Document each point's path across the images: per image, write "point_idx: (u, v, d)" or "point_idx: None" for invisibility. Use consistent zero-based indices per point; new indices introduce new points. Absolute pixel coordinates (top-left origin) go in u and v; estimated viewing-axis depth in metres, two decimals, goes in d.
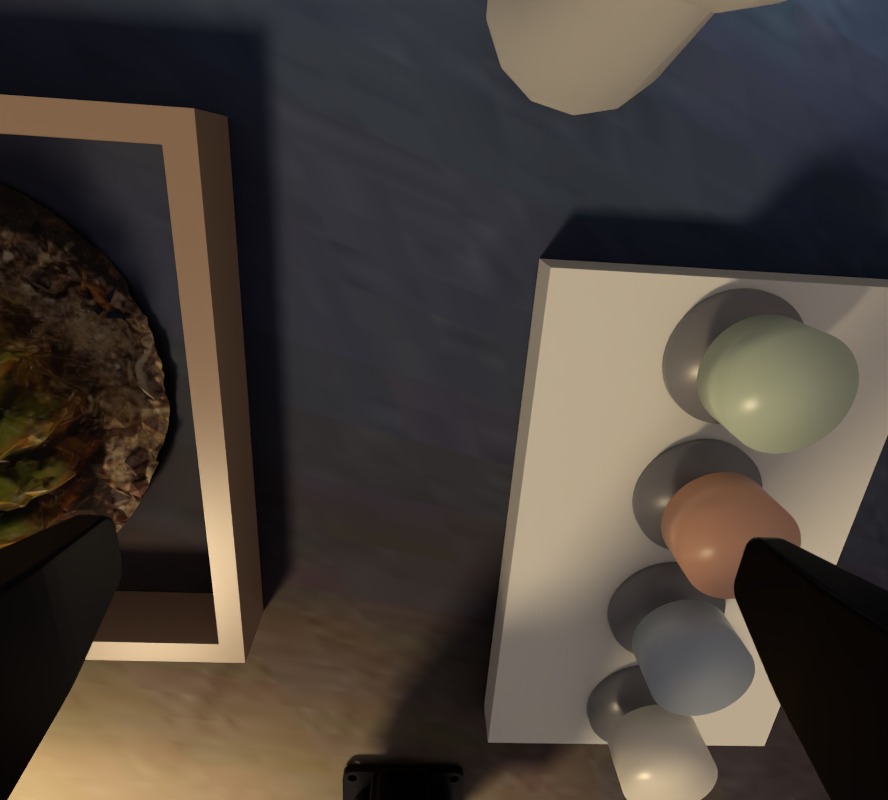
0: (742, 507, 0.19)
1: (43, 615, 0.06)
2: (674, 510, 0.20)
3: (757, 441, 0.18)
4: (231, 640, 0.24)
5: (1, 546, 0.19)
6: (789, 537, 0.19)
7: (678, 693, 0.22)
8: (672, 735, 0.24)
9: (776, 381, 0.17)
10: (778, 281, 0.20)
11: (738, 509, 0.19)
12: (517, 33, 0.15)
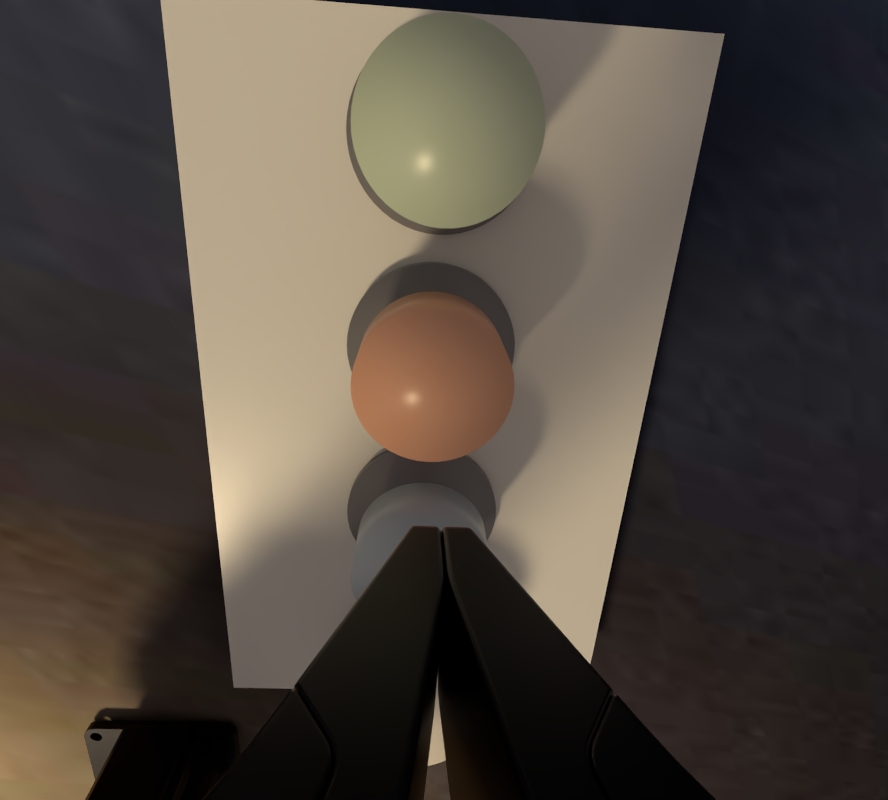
0: (416, 317, 0.13)
1: None
2: None
3: (414, 208, 0.12)
4: None
5: None
6: (496, 366, 0.14)
7: None
8: None
9: (420, 103, 0.12)
10: (489, 16, 0.14)
11: (412, 320, 0.13)
12: None
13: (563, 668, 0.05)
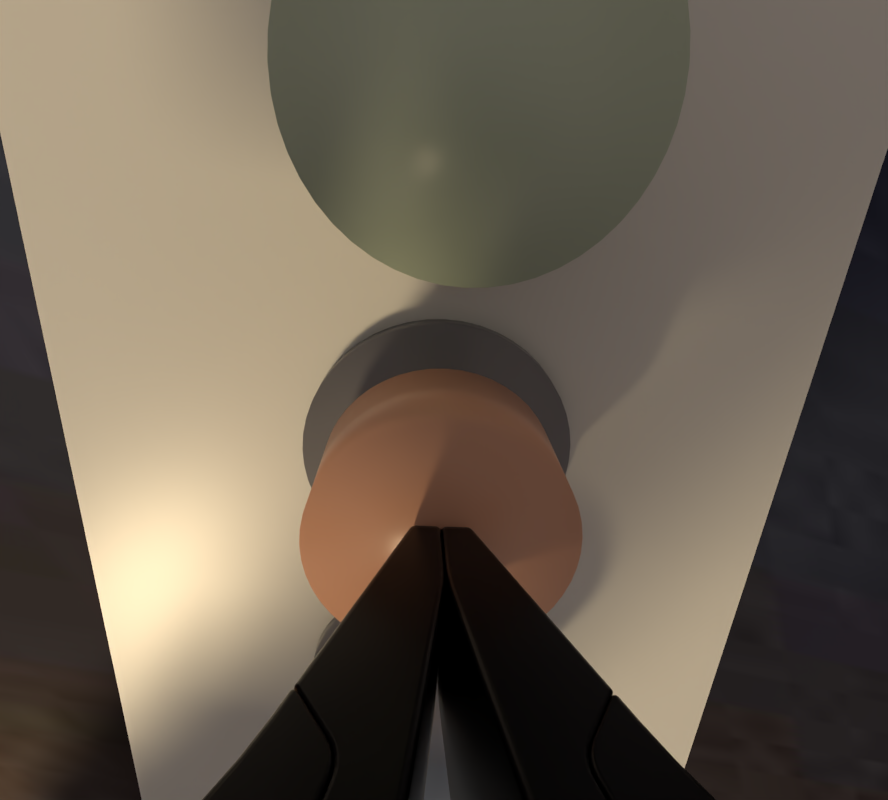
0: (413, 434, 0.07)
1: (441, 624, 0.07)
2: (323, 454, 0.09)
3: (406, 248, 0.06)
4: None
5: None
6: (551, 511, 0.08)
7: None
8: None
9: (419, 24, 0.05)
10: None
11: (405, 440, 0.07)
12: None
13: (563, 668, 0.05)
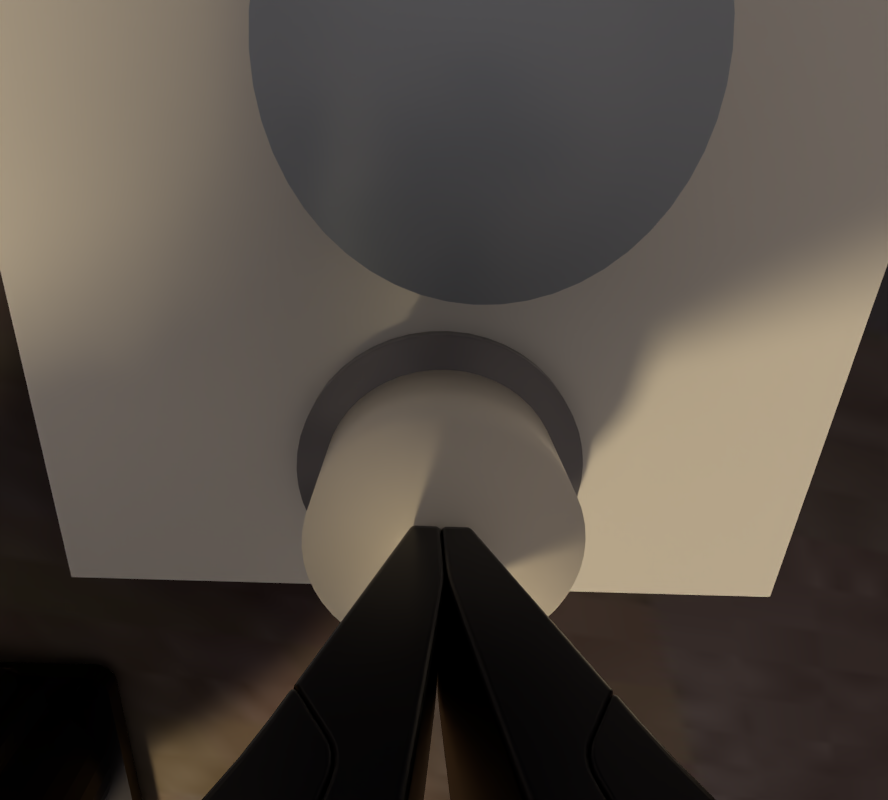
0: None
1: (441, 624, 0.07)
2: None
3: None
4: None
5: None
6: None
7: (398, 166, 0.05)
8: (446, 406, 0.08)
9: None
10: None
11: None
12: None
13: (563, 668, 0.05)
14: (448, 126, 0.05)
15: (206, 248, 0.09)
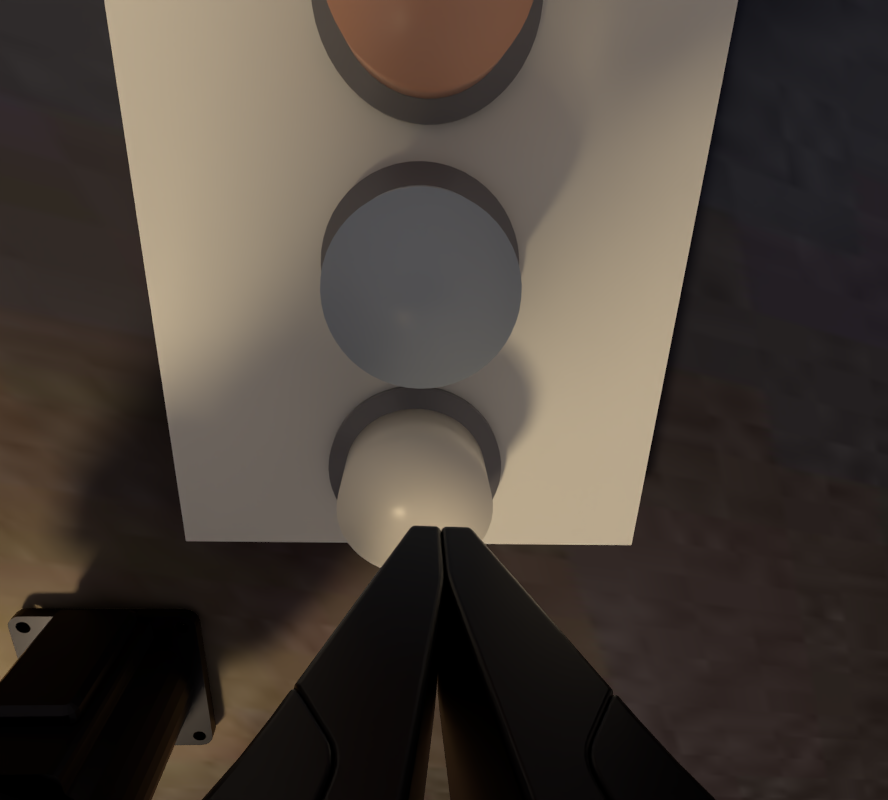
0: None
1: (441, 624, 0.07)
2: None
3: None
4: None
5: None
6: None
7: (383, 333, 0.12)
8: (413, 431, 0.14)
9: None
10: None
11: None
12: None
13: (563, 668, 0.05)
14: (404, 317, 0.11)
15: (276, 343, 0.15)
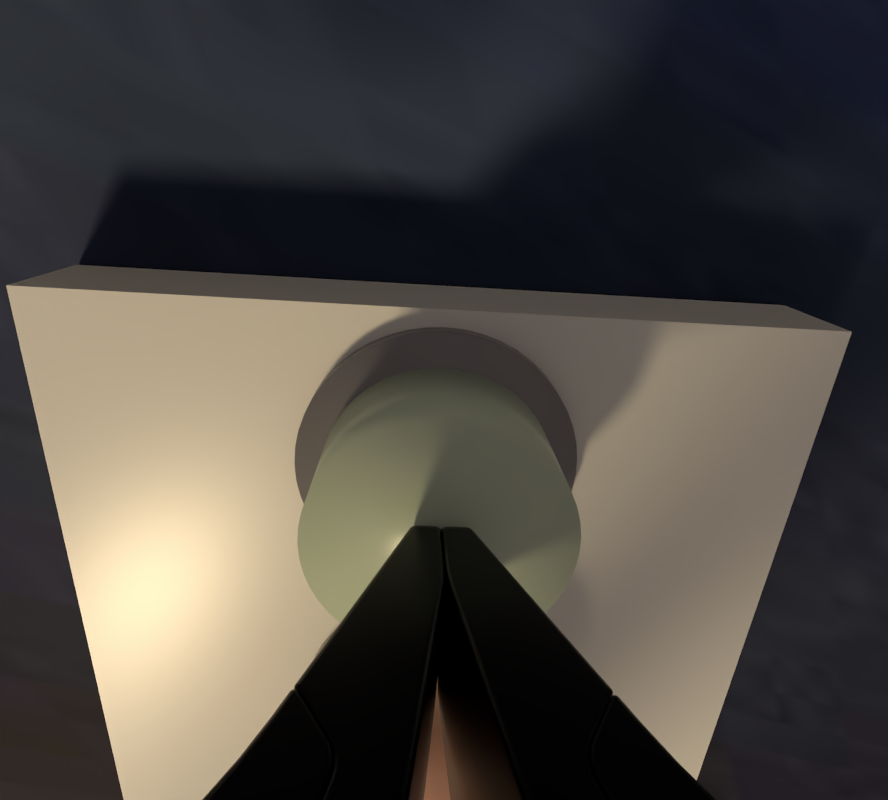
0: None
1: (441, 624, 0.07)
2: None
3: None
4: None
5: None
6: None
7: None
8: None
9: (399, 523, 0.08)
10: (505, 313, 0.10)
11: None
12: None
13: (563, 668, 0.05)
14: None
15: None
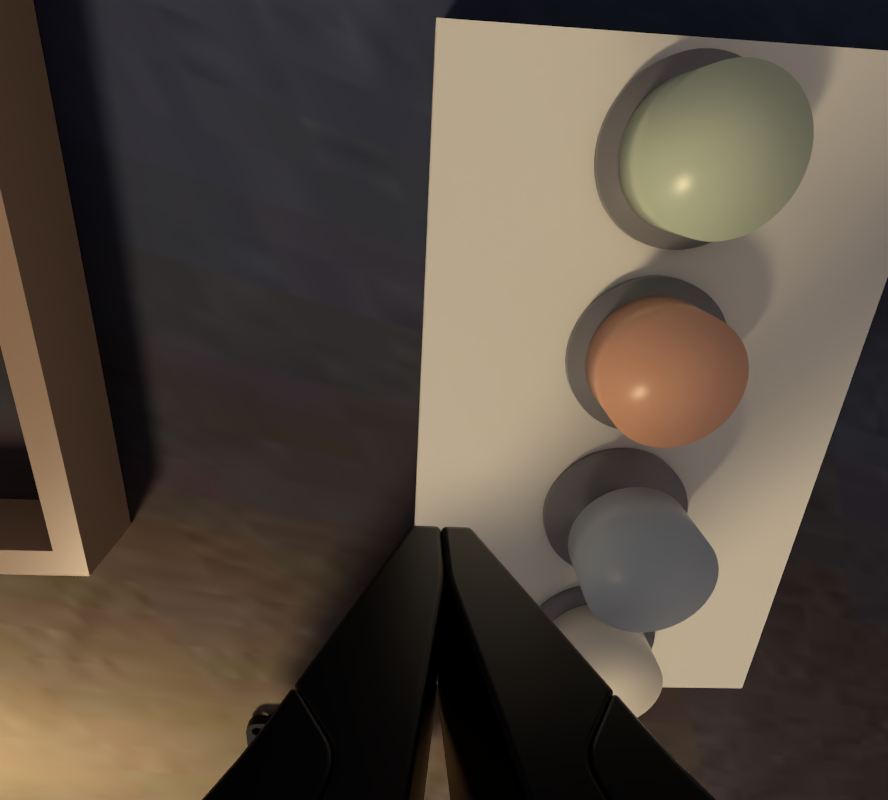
0: (672, 319, 0.15)
1: (441, 624, 0.07)
2: (597, 342, 0.17)
3: (687, 224, 0.14)
4: (68, 546, 0.19)
5: None
6: (734, 362, 0.16)
7: (620, 601, 0.17)
8: (609, 634, 0.20)
9: (707, 134, 0.13)
10: (743, 41, 0.15)
11: (668, 322, 0.15)
12: None
13: (563, 668, 0.05)
14: (636, 593, 0.17)
15: (500, 557, 0.21)
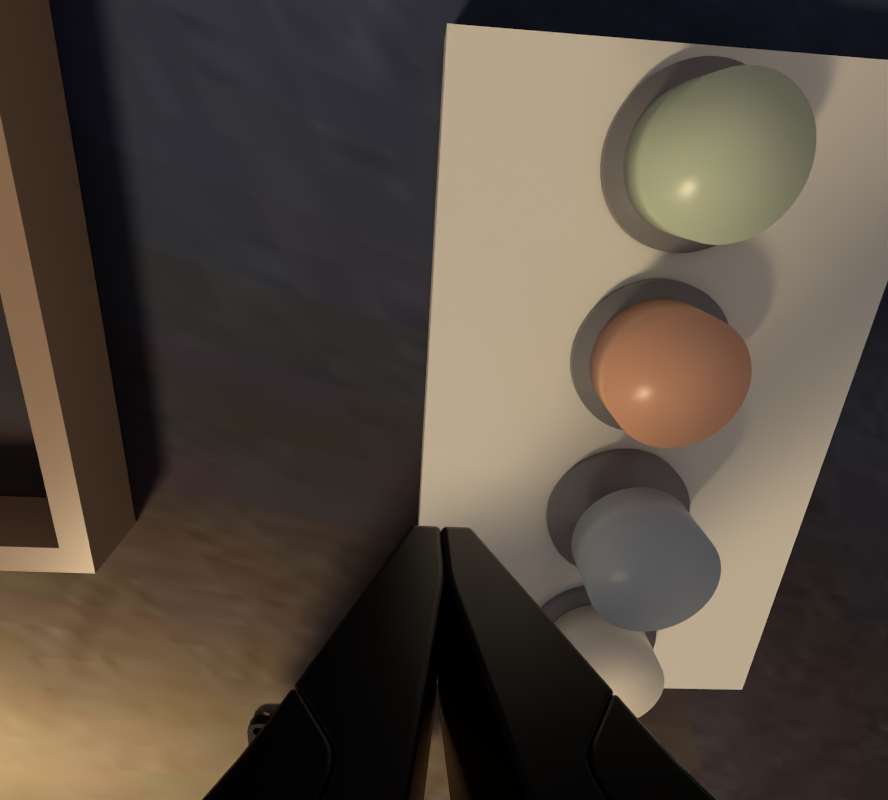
0: (677, 321, 0.15)
1: (442, 624, 0.07)
2: (602, 343, 0.17)
3: (692, 227, 0.14)
4: (74, 543, 0.19)
5: None
6: (737, 364, 0.16)
7: (624, 600, 0.17)
8: (611, 633, 0.20)
9: (713, 140, 0.14)
10: (747, 50, 0.15)
11: (673, 324, 0.15)
12: None
13: (563, 668, 0.05)
14: (639, 592, 0.17)
15: (503, 557, 0.21)
